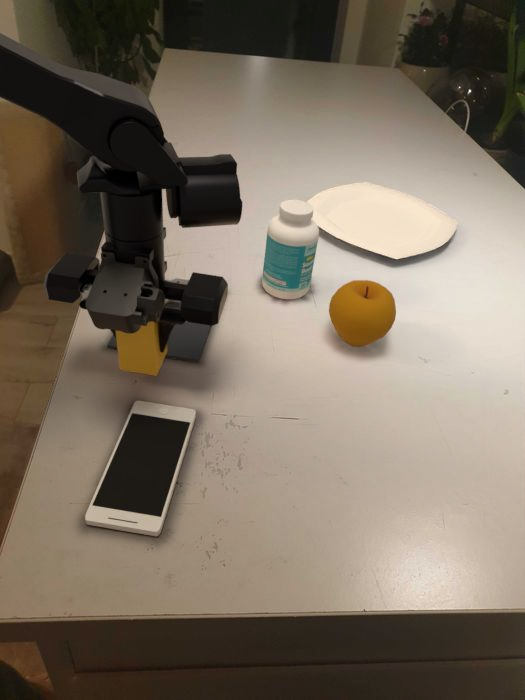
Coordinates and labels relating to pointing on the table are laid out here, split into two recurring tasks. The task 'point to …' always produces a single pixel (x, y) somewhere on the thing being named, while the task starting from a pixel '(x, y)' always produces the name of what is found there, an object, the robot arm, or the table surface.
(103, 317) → the robot arm
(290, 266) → the pill bottle
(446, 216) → the plate
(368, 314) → the apple
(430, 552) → the table surface
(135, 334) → the block
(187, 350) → the mat
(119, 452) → the smartphone
